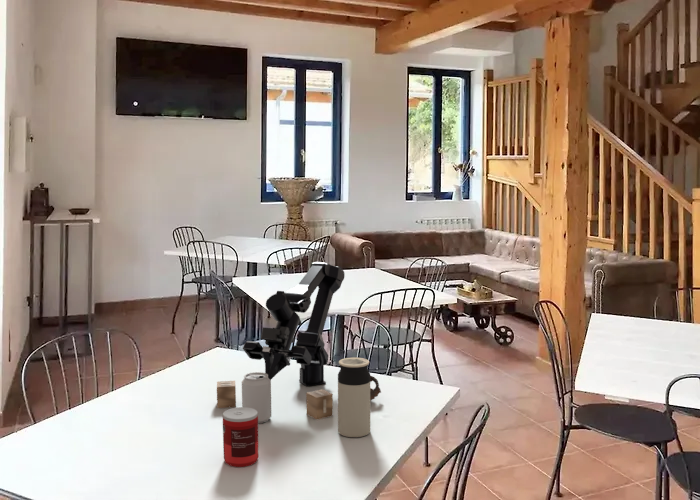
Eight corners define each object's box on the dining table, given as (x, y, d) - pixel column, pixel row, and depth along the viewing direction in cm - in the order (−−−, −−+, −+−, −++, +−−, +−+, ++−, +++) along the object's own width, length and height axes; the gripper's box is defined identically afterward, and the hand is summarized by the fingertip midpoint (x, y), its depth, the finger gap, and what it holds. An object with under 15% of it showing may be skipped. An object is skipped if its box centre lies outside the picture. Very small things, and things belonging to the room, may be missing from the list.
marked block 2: (322, 410, 185) (322, 388, 185) (332, 416, 181) (332, 393, 180) (306, 414, 182) (306, 392, 182) (316, 420, 178) (316, 397, 178)
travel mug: (359, 440, 164) (359, 367, 162) (331, 434, 168) (331, 362, 166) (376, 430, 171) (376, 359, 169) (349, 424, 175) (348, 355, 173)
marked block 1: (235, 401, 193) (235, 380, 192) (236, 407, 188) (235, 385, 188) (217, 402, 192) (216, 381, 192) (217, 408, 187) (216, 386, 187)
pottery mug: (382, 396, 198) (386, 377, 193) (371, 420, 191) (375, 400, 186) (344, 383, 201) (346, 363, 196) (332, 405, 194) (334, 385, 189)
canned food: (240, 450, 159) (239, 404, 157) (266, 458, 154) (265, 411, 153) (216, 462, 152) (214, 414, 151) (242, 470, 148) (241, 421, 147)
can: (266, 425, 174) (265, 379, 173) (238, 423, 176) (237, 378, 174) (275, 415, 181) (274, 371, 180) (248, 413, 183) (247, 370, 182)
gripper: (245, 312, 189) (224, 362, 180) (306, 317, 182) (288, 369, 173) (259, 333, 197) (241, 382, 188) (318, 339, 190) (302, 389, 182)
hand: (267, 380), depth 183 cm, fingers closed
